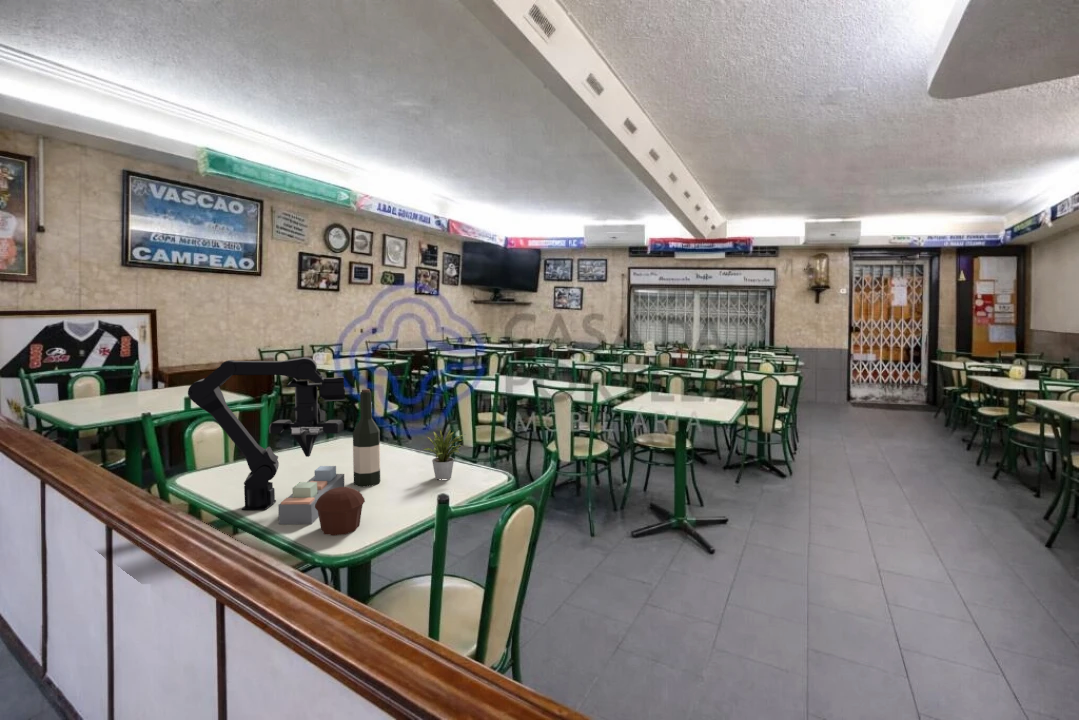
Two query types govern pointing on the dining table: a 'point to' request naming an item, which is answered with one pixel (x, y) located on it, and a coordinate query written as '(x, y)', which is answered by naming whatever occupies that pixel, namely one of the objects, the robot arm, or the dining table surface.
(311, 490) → the sage key
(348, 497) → the muffin
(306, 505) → the console
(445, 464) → the house plant
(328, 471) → the slate key
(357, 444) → the wine bottle
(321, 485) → the terracotta key
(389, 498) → the dining table surface
